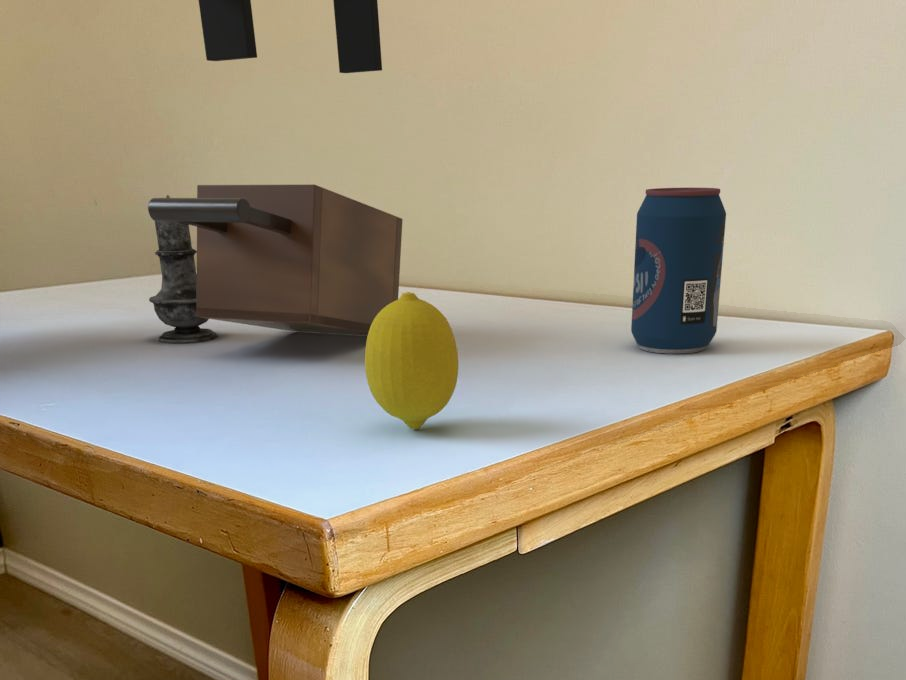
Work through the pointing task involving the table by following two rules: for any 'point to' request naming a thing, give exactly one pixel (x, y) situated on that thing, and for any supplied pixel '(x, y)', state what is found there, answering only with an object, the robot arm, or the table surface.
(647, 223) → the soda can
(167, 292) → the salt shaker
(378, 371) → the lemon
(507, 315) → the table surface
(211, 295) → the wooden handled box
